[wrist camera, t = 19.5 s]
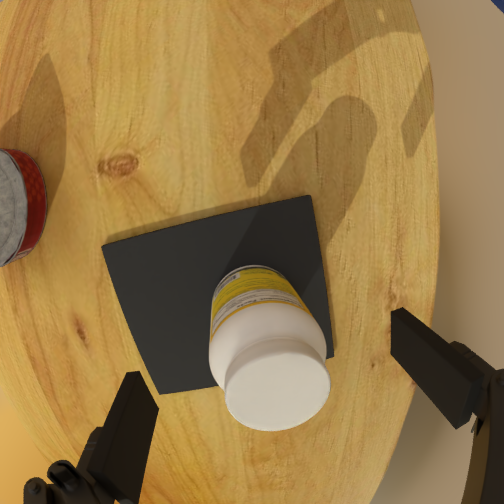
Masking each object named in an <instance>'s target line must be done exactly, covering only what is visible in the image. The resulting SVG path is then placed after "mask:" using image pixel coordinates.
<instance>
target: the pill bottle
mask: <svg viewBox="0 0 504 504" xmlns="http://www.w3.org/2000/svg"><path fill="white" fill-rule="evenodd" d="M325 360H326V342H325V338H324V335H323V332H322V330H321V328H320V326H319V325H318V323H317V322H316V320H315V319H314V317H313V316H312V314H311V313H310V311H309V310H308V308H307V307H306V306H305V304H304V303H303V301H302V300H301V298H300V297H299V295H298V294H297V293H296V291H295V290H294V289H293V287H292V286H291V284H290V283H289V282H288V281H287V279H286V278H285V277H284V276H283V275H282V274H280V273H279V272H277V271H276V270H274V269H271V268H269V267H266V266H261V265H249V266H243V267H240V268H237V269H235V270H233V271H232V272H230V273H229V274H227V275H226V276H225V277H224V278H223V279H222V280H221V282H220V283H219V284H218V286H217V288H216V290H215V292H214V295H213V300H212V309H211V328H210V342H209V364H210V369H211V372H212V375H213V377H214V379H215V381H216V382H217V384H218V385H219V386H220V387H221V388H222V390H223V391H225V401H226V405H227V408H228V410H229V412H230V413H231V415H232V416H233V417H234V418H235V419H236V420H237V421H239V422H240V423H242V424H243V425H245V426H247V427H250V428H253V429H256V430H261V431H279V430H285V429H289V428H292V427H295V426H297V425H300V424H302V423H304V422H305V421H307V420H309V419H310V418H311V417H313V416H314V415H315V414H316V413H317V412H318V411H319V410H320V409H321V408H322V406H323V405H324V403H325V402H326V400H327V398H328V396H329V393H330V388H331V379H330V375H329V372H328V370H327V368H326V366H325Z"/></svg>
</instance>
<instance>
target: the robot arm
mask: <svg viewBox="0 0 504 504" xmlns="http://www.w3.org/2000/svg"><path fill="white" fill-rule="evenodd" d="M391 355H392V356H393V357H394V358H395V360H396V361H397V362H398V363H399V364H400V365H401V366H402V367H403V369H404V370H405V371H406V372H407V373H408V374H409V375H410V377H411V378H412V379H413V380H414V381H415V382H416V383H417V385H418V386H419V387H420V388H421V389H422V390H423V391H424V393H425V394H426V395H427V396H428V397H429V398H430V400H432V402H433V403H434V404H435V405H436V407H437V408H438V409H439V410H440V411H441V413H442V414H443V415H444V416H445V417H446V418H447V420H448V421H449V422H450V423H451V424H452V426H453V427H454V428H455V429H458V428H459V427H461V426H462V425H464V424H466V423H467V422H469V420H470V418H471V415H472V412H473V413H474V414H475V415H476V416H477V418H476V420H475V423H474V425H473V427H472V430H471V433H473V431H474V438H473V446H472V453H471V459H470V465H469V471H468V476H467V481H466V485H465V490H464V495H463V498H462V502H461V504H504V369H500V370H495V369H494V368H493V367H492V366H490V365H489V364H488V363H487V362H486V361H484V360H483V359H482V358H480V357H479V356H478V355H476V353H474V352H473V351H471V350H470V349H469V348H468V347H467V346H465V345H464V344H462V343H459V342H456V341H453V342H451V343H450V344H449V343H447V342H446V341H445V340H444V339H442V338H441V337H440V336H439V335H438V334H436V333H435V332H434V331H433V330H431V329H430V328H429V327H428V326H426V325H425V324H424V323H423V322H421V321H420V320H419V319H417V318H416V317H415V316H414V315H412V314H411V313H410V312H408V311H407V310H406V309H405V308H403V307H402V308H399V309H396V310H394V311H391ZM158 411H159V408H158V406H157V404H156V403H155V401H154V399H153V397H152V395H151V393H150V391H149V389H148V387H147V385H146V383H145V381H144V379H143V377H142V375H141V373H140V371H135V372H127V373H126V375H125V377H124V379H123V382H122V384H121V386H120V388H119V390H118V393H117V395H116V397H115V400H114V402H113V404H112V406H111V409H110V411H109V413H108V416H107V418H106V421H105V423H104V425H103V427H96V429H95V430H94V431H93V432H92V433H91V434H90V436H89V438H88V441H87V444H86V445H85V448H84V449H85V450H83V453H82V455H81V457H80V460H79V462H78V465H77V467H76V468H75V467H74V466H73V465H72V464H71V463H70V462H69V461H67V460H59V461H56V462H54V463H53V464H52V465H51V466H50V467H49V469H48V472H47V477H48V478H49V479H50V480H51V481H52V482H53V483H54V484H47V483H46V482H45V481H44V480H43V479H41V478H39V477H38V478H37V477H34V478H32V479H30V480H28V481H27V482H26V484H25V486H24V504H114V501H115V499H116V500H117V501H118V502H119V503H120V504H138V503H139V498H140V493H141V488H142V483H143V478H144V473H145V468H146V463H147V459H148V454H149V450H150V445H151V441H152V436H153V432H154V428H155V424H156V419H157V415H158Z"/></svg>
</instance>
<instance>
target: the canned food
mask: <svg viewBox="0 0 504 504" xmlns="http://www.w3.org/2000/svg"><path fill="white" fill-rule="evenodd" d="M46 212H47V196H46V188H45V184H44V180H43V176H42V174H41V172H40V169H39V167H38V166H37V164H36V163H35V161H34V160H33V159H32V158H31V157H30V156H29V155H28V154H27V153H25V152H22V151H20V150H14V149H12V150H10V149H1V148H0V267H3V266H5V265H6V264H8V263H11V262H13V261H15V260H17V259H20V258H22V257H24V256H26V255H28V254H29V253H30V252H31V251H32V250H33V249H34V247H35V246H36V244H37V243H38V241H39V239H40V236H41V234H42V232H43V228H44V224H45V220H46Z"/></svg>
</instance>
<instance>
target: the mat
mask: <svg viewBox="0 0 504 504" xmlns="http://www.w3.org/2000/svg"><path fill="white" fill-rule="evenodd" d="M101 248H102V251H103V255H104V258H105V261H106V264H107V268H108V271H109V274H110V277H111V280H112V283H113V286H114V289H115V291H116V294H117V297H118V300H119V303H120V305H121V308H122V311H123V313H124V316H125V319H126V321H127V324H128V326H129V329H130V331H131V334H132V336H133V338H134V341H135V343H136V345H137V348H138V350H139V352H140V355H141V357H142V359H143V361H144V364H145V366H146V368H147V370H148V372H149V374H150V376H151V379H152V381H153V383H154V385H155V387H156V389H157V391H158V393H159V395H161V394H169V393H176V392H183V391H190V390H196V389H202V388H208V387H214V386H219V385H218V384H217V382H216V381H215V379H214V377H213V375H212V372H211V369H210V364H209V342H210V328H211V309H212V300H213V295H214V292H215V290H216V288H217V286H218V284H219V283H220V282H221V280H222V279H223V278H224V277H225V276H226V275H227V274H229V273H230V272H232V271H233V270H235V269H237V268H240V267H243V266H249V265H261V266H266V267H269V268H271V269H274V270H276V271H277V272H279V273H280V274H282V275H283V276H284V277H285V278H286V279H287V281H288V282H289V283H290V284H291V286H292V287H293V289H294V290H295V291H296V293H297V294H298V295H299V297H300V298H301V300H302V301H303V303H304V304H305V306H306V307H307V308H308V310H309V311H310V313H311V314H312V316H313V317H314V319H315V320H316V322H317V323H318V325H319V326H320V328H321V330H322V332H323V335H324V338H325V342H326V359H329V358H332V357H334V349H333V340H332V331H331V322H330V314H329V306H328V298H327V291H326V284H325V277H324V270H323V263H322V257H321V250H320V244H319V238H318V232H317V227H316V221H315V215H314V210H313V205H312V199H311V196H310V195H306V196H301V197H296V198H291V199H287V200H282V201H277V202H273V203H268V204H264V205H259V206H255V207H250V208H246V209H241V210H237V211H233V212H229V213H224V214H220V215H216V216H212V217H208V218H204V219H199V220H195V221H191V222H187V223H183V224H179V225H176V226H172V227H168V228H164V229H160V230H156V231H153V232H149V233H145V234H141V235H138V236H134V237H130V238H127V239H123V240H120V241H116V242H113V243H109V244H106V245H103V246H101Z"/></svg>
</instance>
